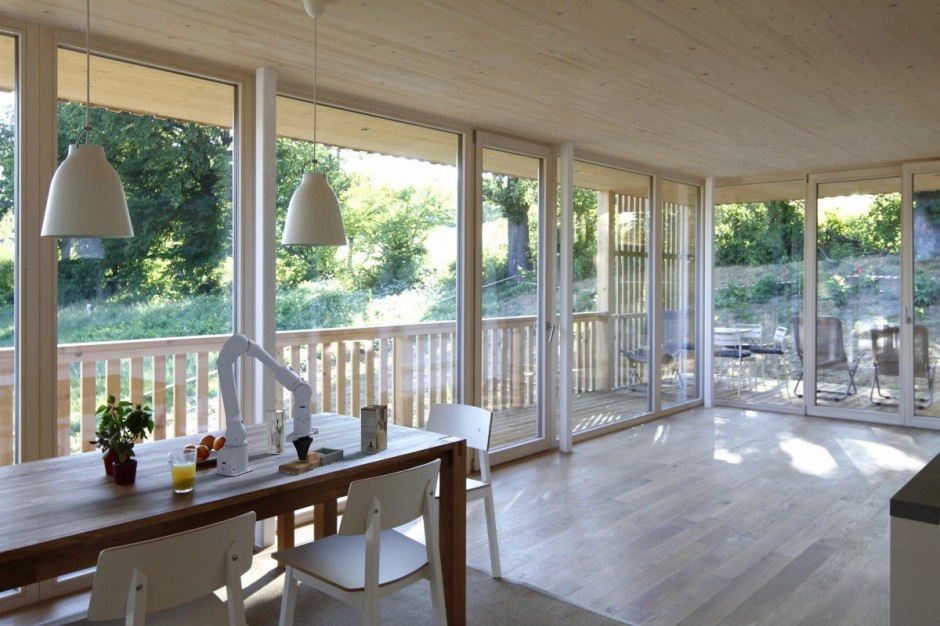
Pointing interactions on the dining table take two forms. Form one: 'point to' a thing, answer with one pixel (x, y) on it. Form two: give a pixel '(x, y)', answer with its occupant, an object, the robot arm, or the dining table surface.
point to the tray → (329, 455)
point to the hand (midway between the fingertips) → (302, 459)
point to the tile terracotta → (310, 456)
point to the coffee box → (373, 429)
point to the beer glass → (275, 430)
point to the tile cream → (319, 455)
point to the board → (299, 466)
